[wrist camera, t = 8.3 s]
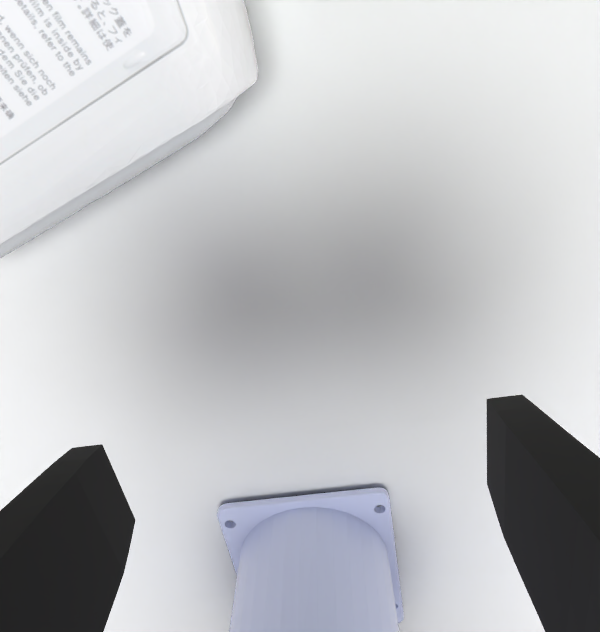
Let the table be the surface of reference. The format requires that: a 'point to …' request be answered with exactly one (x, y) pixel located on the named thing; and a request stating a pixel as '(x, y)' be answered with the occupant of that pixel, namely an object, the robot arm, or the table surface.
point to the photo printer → (107, 96)
